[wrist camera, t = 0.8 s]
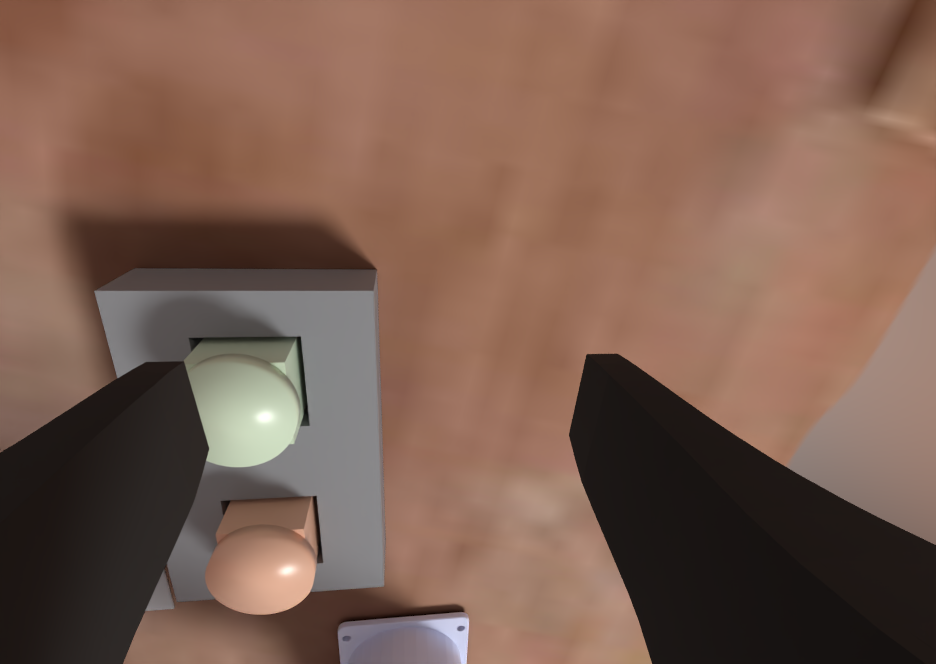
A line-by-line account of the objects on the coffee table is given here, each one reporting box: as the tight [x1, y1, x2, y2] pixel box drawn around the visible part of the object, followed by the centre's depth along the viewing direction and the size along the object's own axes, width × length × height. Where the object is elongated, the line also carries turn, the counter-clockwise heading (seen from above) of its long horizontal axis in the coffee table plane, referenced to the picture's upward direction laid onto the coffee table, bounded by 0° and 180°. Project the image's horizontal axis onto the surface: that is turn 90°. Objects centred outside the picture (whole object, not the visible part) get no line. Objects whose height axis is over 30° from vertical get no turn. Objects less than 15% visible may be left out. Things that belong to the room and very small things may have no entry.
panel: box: [94, 268, 386, 602], centre depth 23 cm, size 16×10×3 cm, turn 178°
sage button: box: [184, 336, 307, 467], centre depth 20 cm, size 4×4×4 cm
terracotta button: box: [205, 496, 321, 615], centre depth 23 cm, size 4×4×4 cm
